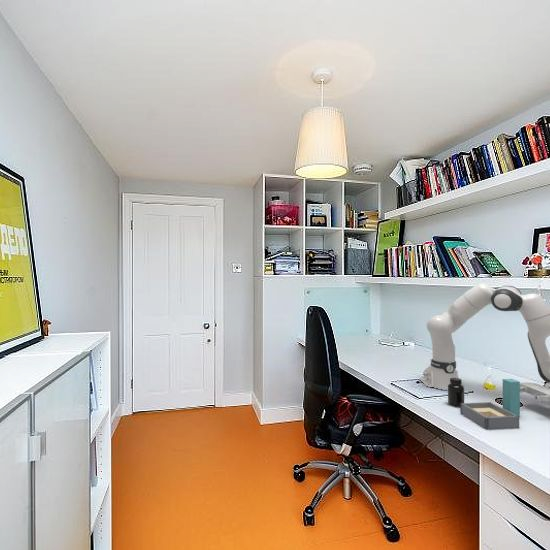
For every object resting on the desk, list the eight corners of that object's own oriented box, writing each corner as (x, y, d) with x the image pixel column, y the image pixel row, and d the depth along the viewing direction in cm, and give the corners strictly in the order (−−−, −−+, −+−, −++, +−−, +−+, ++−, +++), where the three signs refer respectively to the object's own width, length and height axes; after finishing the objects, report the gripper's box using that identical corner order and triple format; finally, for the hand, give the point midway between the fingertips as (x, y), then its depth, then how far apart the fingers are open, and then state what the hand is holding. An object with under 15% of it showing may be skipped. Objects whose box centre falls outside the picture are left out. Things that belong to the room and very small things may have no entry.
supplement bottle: (459, 402, 168) (459, 376, 168) (467, 407, 161) (467, 381, 161) (444, 402, 168) (444, 376, 168) (452, 407, 161) (452, 381, 161)
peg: (502, 413, 154) (502, 379, 154) (511, 413, 155) (511, 378, 155) (510, 417, 150) (510, 382, 150) (519, 417, 150) (519, 381, 150)
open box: (460, 413, 154) (460, 403, 154) (490, 412, 155) (490, 402, 155) (486, 429, 138) (486, 418, 138) (519, 427, 140) (519, 416, 140)
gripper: (536, 378, 165) (508, 379, 164) (578, 393, 145) (547, 394, 143) (536, 392, 165) (508, 393, 164) (578, 408, 145) (547, 410, 143)
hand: (527, 393), depth 153 cm, fingers open, 8 cm apart
